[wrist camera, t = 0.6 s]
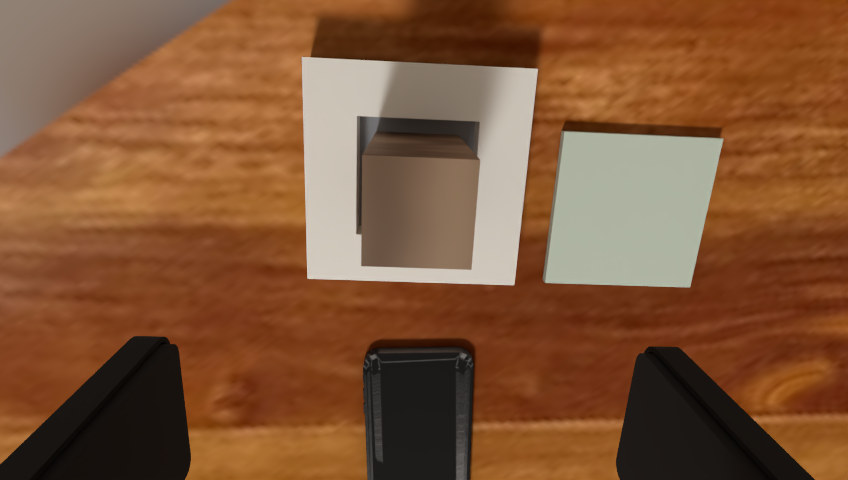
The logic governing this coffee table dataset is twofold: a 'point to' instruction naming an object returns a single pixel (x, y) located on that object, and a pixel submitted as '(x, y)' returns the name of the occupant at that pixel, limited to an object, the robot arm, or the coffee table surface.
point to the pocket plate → (413, 113)
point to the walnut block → (418, 201)
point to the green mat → (629, 208)
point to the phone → (418, 413)
